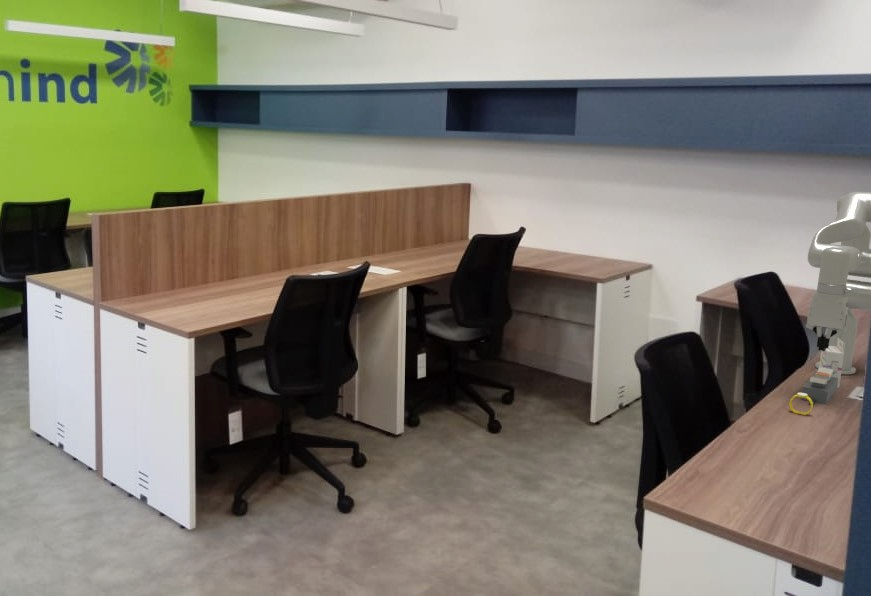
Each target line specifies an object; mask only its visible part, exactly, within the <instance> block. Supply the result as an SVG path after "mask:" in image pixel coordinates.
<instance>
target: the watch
mask: <svg viewBox="0 0 871 596" xmlns="http://www.w3.org/2000/svg"><path fill="white" fill-rule="evenodd" d="M797 397H798V398H801V397H802V398H806V399H808V400H809V401H808V403H809V402H810V404H811V405H810V408H809V410H808V411H806V412H802V411H798V410H796V409H794V406H793V400H794V399H795V398H797ZM788 405H789V408H790V410H791V412H792V413H794V414H798V415H804V416H806V415H808V414H809V413H811V411H812V410H813V407H814V404H813V402H812V400H811V399H810V398H809V397H808V395H807V394H806V393H802V392H797V393H796V394H795V395H793V396H792V397H791V398H790V400H789V404H788Z"/></svg>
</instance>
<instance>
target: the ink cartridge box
mask: <svg viewBox="0 0 871 596" xmlns="http://www.w3.org/2000/svg"><path fill="white" fill-rule="evenodd" d="M840 344H841V345H842V347H841V346H840ZM844 347H845V344H844V343H843V342H842V341H841V340H840V339H839V338H837V347H836V346H829V347H828V349H827V348H826V350H825V351H822V350H820V358H819V362H820V364H819V367H822V368H827V369H833V374H832V376H831V377H835V378H838V383H837V389H840V384H841V378H842V374H841V372H842V366H843V359H844Z"/></svg>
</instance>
